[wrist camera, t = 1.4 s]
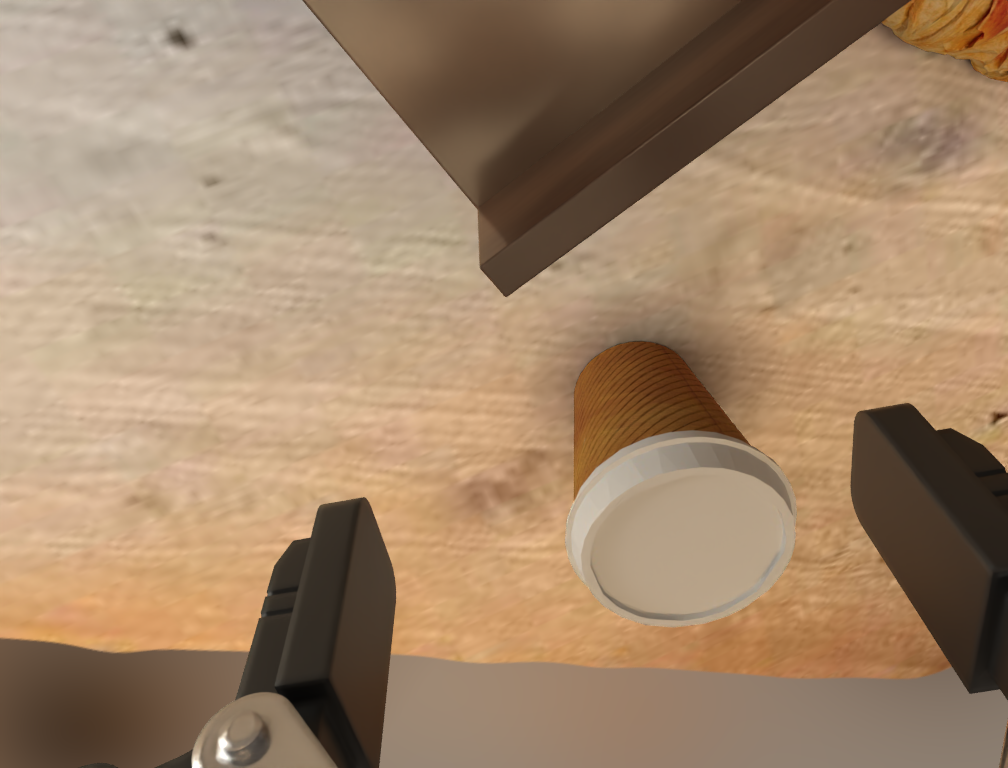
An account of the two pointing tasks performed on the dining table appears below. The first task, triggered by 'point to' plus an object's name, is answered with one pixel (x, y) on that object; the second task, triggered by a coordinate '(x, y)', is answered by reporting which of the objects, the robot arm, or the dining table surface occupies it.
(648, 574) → the disposable coffee cup
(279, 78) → the dining table surface
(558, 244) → the walnut shelf
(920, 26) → the croissant
